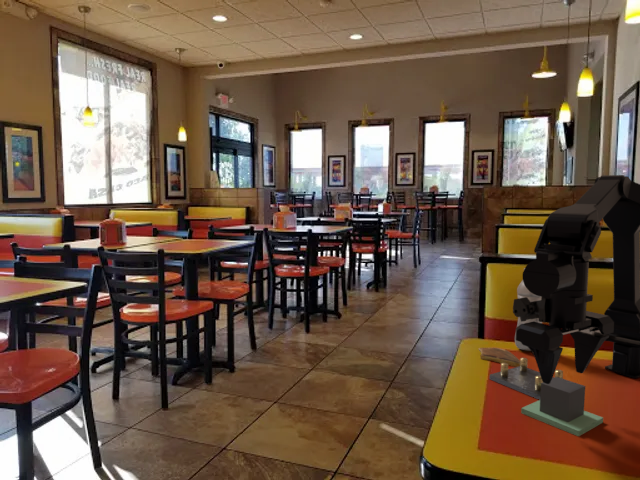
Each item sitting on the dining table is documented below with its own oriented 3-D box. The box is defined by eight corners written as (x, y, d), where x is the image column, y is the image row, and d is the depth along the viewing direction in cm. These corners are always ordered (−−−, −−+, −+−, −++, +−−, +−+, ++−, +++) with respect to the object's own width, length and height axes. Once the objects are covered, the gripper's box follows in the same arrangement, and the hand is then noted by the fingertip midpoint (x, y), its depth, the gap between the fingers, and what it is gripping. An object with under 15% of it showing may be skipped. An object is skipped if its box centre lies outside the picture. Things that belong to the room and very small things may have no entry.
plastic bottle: (509, 349, 120) (512, 268, 118) (522, 343, 124) (525, 265, 122) (535, 356, 115) (539, 272, 113) (547, 350, 120) (551, 268, 118)
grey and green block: (546, 403, 91) (547, 370, 90) (602, 424, 83) (605, 388, 82) (521, 414, 86) (522, 380, 85) (578, 438, 78) (580, 400, 77)
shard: (525, 371, 107) (525, 363, 107) (490, 371, 107) (491, 363, 107) (505, 354, 118) (506, 347, 118) (474, 354, 118) (474, 347, 118)
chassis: (521, 370, 106) (522, 354, 106) (573, 389, 96) (574, 372, 96) (489, 379, 101) (490, 362, 101) (541, 400, 91) (542, 382, 91)
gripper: (558, 275, 94) (554, 354, 95) (490, 285, 84) (487, 373, 86) (618, 285, 84) (612, 373, 86) (549, 297, 75) (544, 396, 76)
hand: (563, 377), depth 84 cm, fingers open, 9 cm apart
